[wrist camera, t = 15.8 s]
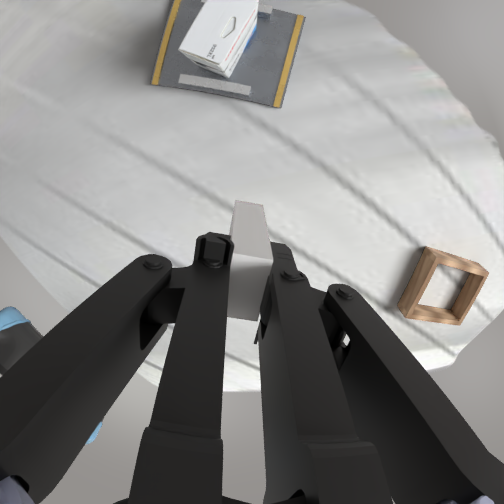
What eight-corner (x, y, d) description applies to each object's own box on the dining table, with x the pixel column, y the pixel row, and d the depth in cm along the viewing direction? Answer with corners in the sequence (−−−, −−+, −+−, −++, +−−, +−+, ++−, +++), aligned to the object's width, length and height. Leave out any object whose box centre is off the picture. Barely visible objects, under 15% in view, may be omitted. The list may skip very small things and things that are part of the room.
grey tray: (152, 84, 36) (144, 82, 33) (176, -4, 31) (171, -12, 27) (280, 108, 38) (283, 108, 35) (304, 19, 32) (308, 12, 29)
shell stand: (397, 305, 53) (405, 318, 49) (425, 246, 48) (436, 256, 44) (451, 314, 55) (459, 325, 51) (478, 263, 49) (489, 272, 46)
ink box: (224, 14, 31) (215, -18, 21) (258, 27, 32) (261, -2, 22) (195, 65, 35) (175, 50, 24) (228, 79, 36) (220, 67, 25)
